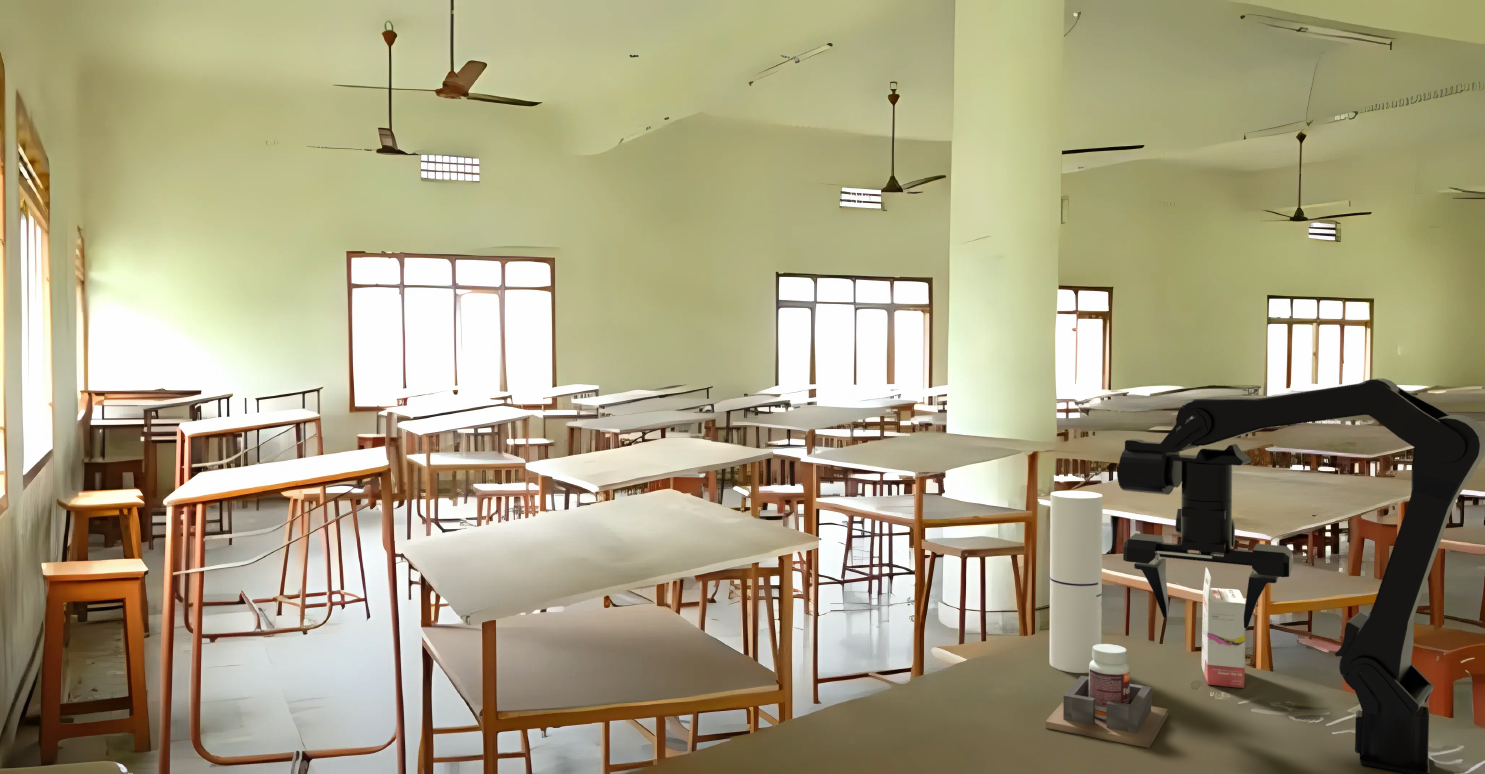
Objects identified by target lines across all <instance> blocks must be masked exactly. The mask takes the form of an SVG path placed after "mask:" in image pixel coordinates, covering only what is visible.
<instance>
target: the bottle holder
mask: <svg viewBox="0 0 1485 774" xmlns="http://www.w3.org/2000/svg"><path fill="white" fill-rule="evenodd" d="M1168 716H1169V709H1168V708H1164V707H1159V706H1154V705H1152V686H1146V685H1141V684H1134V683H1130V695H1129V704H1125V703H1119V702H1114V701H1108V702H1107V715H1106V720H1103V719H1099V718H1096V717H1095V698H1091V697H1089V676H1086V675H1080V676H1079V677H1078V678H1077V680H1076V681H1075V682H1074V683H1073V684H1072V685H1071V687H1070V688H1069V689H1068V690H1067V691H1066V692H1065V693H1064V694H1063V700H1062V702H1061V703H1060V705H1058V706H1057V707H1056V709H1055V710H1054V711H1053V712H1052V713H1051V714H1050V715H1049V717H1048V718H1047V719H1046V720H1045V728H1046V729H1051V730H1053V731H1054V730H1055V731H1059V732H1066V733H1070V734H1076V735H1081V736H1085V737H1091V738H1097V739H1100V740H1107V741H1111V742H1116V743H1117V742H1118V743H1122V744H1126V745H1131V746H1136V747H1137V746H1138V747H1142V748H1148V749H1150V748H1151V746H1152V744H1153V743H1154V740H1155V739H1156V737H1157V735H1158V734H1159V731H1160V730H1161V728H1162V726H1163V725H1164V723H1165V721H1166V720H1167V718H1168Z"/></svg>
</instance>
